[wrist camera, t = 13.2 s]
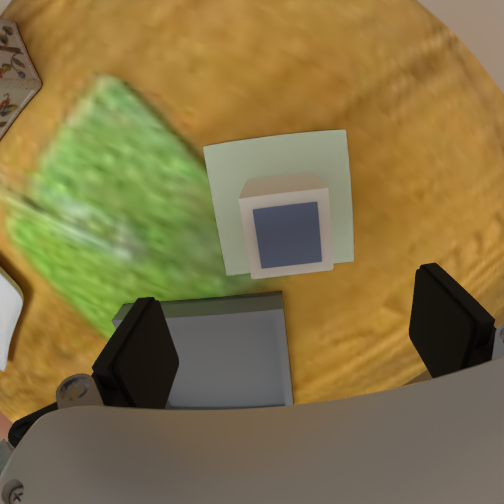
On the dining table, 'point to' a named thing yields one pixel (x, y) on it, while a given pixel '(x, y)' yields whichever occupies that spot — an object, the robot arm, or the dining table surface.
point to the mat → (278, 163)
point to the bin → (228, 352)
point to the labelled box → (286, 225)
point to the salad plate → (8, 313)
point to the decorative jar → (14, 75)
